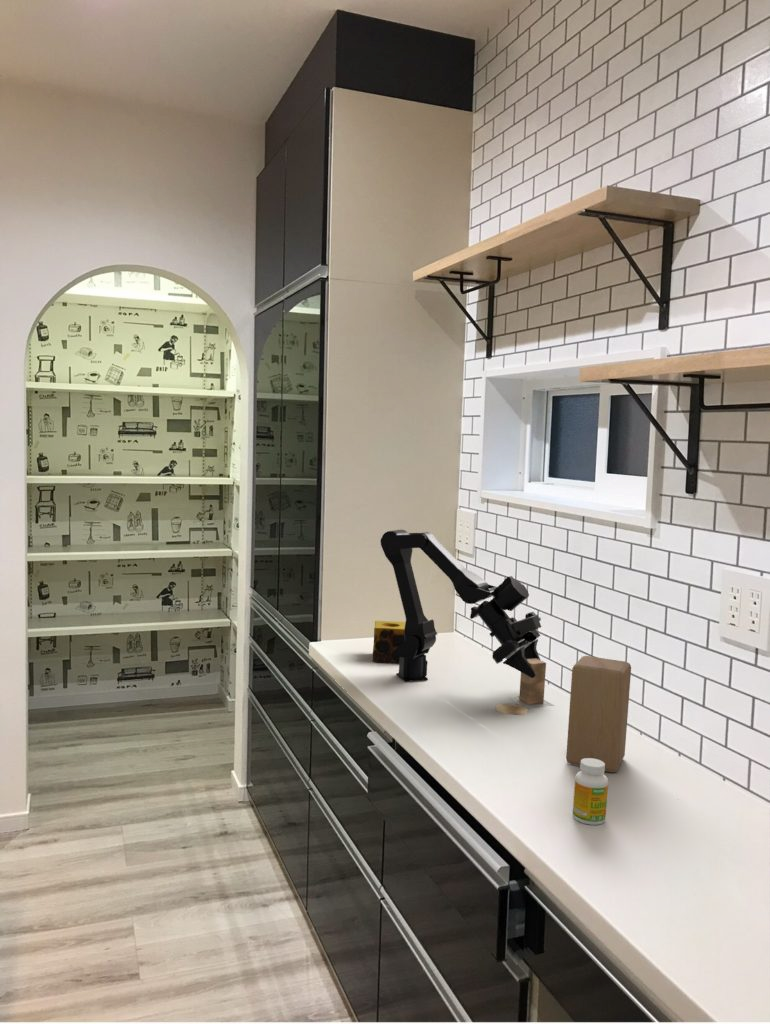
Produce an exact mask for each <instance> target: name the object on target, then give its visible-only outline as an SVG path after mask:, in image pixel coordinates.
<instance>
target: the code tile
mask: <svg viewBox="0 0 770 1024" xmlns="http://www.w3.org/2000/svg"><path fill="white" fill-rule="evenodd" d="M508 699H510V700H511V701H513V702H514V703H516V704H517V705H519V706H523V707H525V708H526V709H531V708H534V709H535V708H542V707H555V705H554V704H552V703H551V702H549V701H547V700H546V699H544V702H543V704H533V705H528V704H526V703H524V702H523V701H521V700H519V696H516V697H508Z"/></svg>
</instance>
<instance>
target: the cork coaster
mask: <svg viewBox="0 0 770 1024" xmlns="http://www.w3.org/2000/svg"><path fill="white" fill-rule="evenodd" d="M494 709H495V711H497V712H499V713H501V714H506V715H511V716H520V715H525V714H527V713H528V712H529V711H528V708H525V707H523V706H521V705H520V704H514V703H500V704H497V705H495V706H494Z"/></svg>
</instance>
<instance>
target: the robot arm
mask: <svg viewBox="0 0 770 1024" xmlns="http://www.w3.org/2000/svg"><path fill="white" fill-rule="evenodd" d="M380 546H381V548H382V552H383V554H384V556H385V557H386V559H387V561H388V562H389V563H390V564H391V566H392V568H393V572H394V576H395V580H396V583H397V589H398V592H399V596H400V599H401V606H402V609H403V613H404V617H405V621H404V622H405V628H404V636H405V641H404V642H403V643H402V644H401V645H399V646H398V647H397V648H396V652H397V656H398V657H400V660H399V664H398V672H397V673H396V674H395V675H396V677H398V678H399V679H400V680H402V681H404V682H406V683H407V682H421V681H422V682H423V681H428V680H429V678H428V677H427V674H428V660H427V655H426V654H429V652H430V649H431V648H432V647H434V645H435V643H436V641H437V636H438V632H437V630H436V628H435V621H434V619H430V620H428V619H429V618H427V617H426V615H425V614H424V610H423V606H422V603H421V598H420V594H419V591H418V590H419V589H418V585H417V581H416V578H415V575H414V570H413V566H412V555H413V549H420V550H422V551H423V553H424V554H425V555H426V556H427V557H428V558H429V559H430V560H431V561H432V563H434V564H435V565H436V566H437V567H438V569H440V570H441V572H442V573H444V575H446V576H447V577H448V578H449V580H450V581H451V583H452V585H453V588H454V590H455V592H456V594H457V595H458V596H459V598H460V599H461V601H462V602H464V603H466V604H470V605H473V604H476V603H479V602H481V603H480V604H479V605H478V606H475V605H474V606H473V607H470V616H469V618H470V619H471V620H473V619H475V618H478V617H479V618H480V620H482V621H483V623H484V624H485V625H486V627H487V628H488V629H489V631H490V633H489V636H490V637H491V638H493V637H495V639H496V640H497V642H499V644H500V646H498V647H497V648H496V649H495V650H494V651H492V660H493V661H494V662H495V663H496V664H497V665H499V663H501V662H502V663H503V664H504V665H506V666H509V667H511V668H513V669H514V670H517V671H519V672H520V673H521V672H522V673H524V674H526V675H528V676H529V677H531V678H534V677H535V676H536V674H535V673H534V671H533V669H532V667H531V666H530V664H529V662H528V661H527V659H535V658H537V659H539V660H541V657H540V655H539V653H538V649H537V645H538V642H539V637H541V634H540V633H539V631H537V630H538V629H539V628H540V629H541V628H542V624H541V620H542V618H541V616H539V615H538V614H536V613H535V612H534V611H530V612H527V613H526V614H525V616H524V617H525V618H522V619H520V620H517V619H516V617H514V616H512V617H510V616H509V615H508V613H507V612H506V611H510V612H512V611H514V610H515V609H516V608H517V607H518V606H519V605H521V604H522V603H523V602H524V601H525V600H526V599H528V598H529V596H530V594H529V590H528V589H527V588H526V586H525V585H524V584H522V583H521V581H519V580H517V579H515V578H514V577H513V576H512V575H509V576H507V577H506V578H505V579H504V580H503V581H502V582H501V583H500V584H499V585H498V586H495V585H492V584H489V583H488V582H487V581H486V580H485V579H484V578H482V577H481V576H480V575H478V574H476V573H474V572H472V571H471V570H469V569H467V568H466V567H464V565H462V564H461V563H460V561H458V559H456V558H455V557H454V555H452V554H451V552H449V551H448V549H447V548H445V546H444V545H442V544H441V542H440V541H439V540H438V539H437V538H436V537H435V535H434V534H433V533H431V532H429V531H426V532H409V531H406V530H405V529H396V530H395V529H394V530H389V531H386V532H384V533H383V534H382V537H381V538H380ZM489 598H491V599H490V600H486V599H489ZM482 601H483V602H482ZM504 659H505V660H504ZM503 660H504V661H503Z"/></svg>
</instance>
